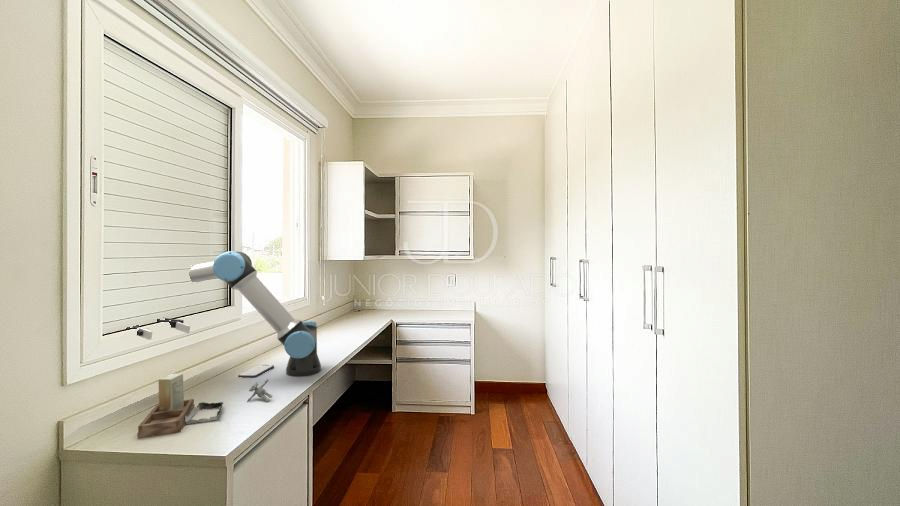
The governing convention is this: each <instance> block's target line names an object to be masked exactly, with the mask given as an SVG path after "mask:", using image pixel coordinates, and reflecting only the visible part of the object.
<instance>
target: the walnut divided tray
mask: <svg viewBox="0 0 900 506" xmlns="http://www.w3.org/2000/svg"><path fill="white" fill-rule="evenodd" d="M194 402H195V399H194V398H189V399H184V408H183V409H178V410H171V411H163V412H159V402H158V403H157V404H156V405H155V406H154V408H153V409H152V410H151V411H150V412H149V413H148V414H147V416H146V417H145V418H144V419H143V420H142V421H141V423H139V425H138V427H137V431H138V432H137V433H136V434H137V435H136V437H142V438H146V437H145V436H149V437H153V436H152V435H155V436H161V435H168V434H174V432H176V433H182V431H181V430H183V429H184V427H185V425H187V424H186V422H185V416H186V415H188V414H190V412H191V411H192V410H193V409H194V407H196V405H195V403H194Z"/></svg>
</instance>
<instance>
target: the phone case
mask: <svg viewBox="0 0 900 506" xmlns="http://www.w3.org/2000/svg"><path fill="white" fill-rule="evenodd" d="M273 369H275V365H273V364H258V365H256V366H253V367H251V368H249V369H247V370H246V371H243V372H241V373H239V374H238V375H237V377H238V378H239V377H242V378H243V379H255V378H256V379H257V378H258V377H260V376H262V375H264V374H265V372H266V373H267V371H268V372H269V370H270V371H271V370H273ZM263 373H264V374H263ZM242 378H241V379H242Z"/></svg>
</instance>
